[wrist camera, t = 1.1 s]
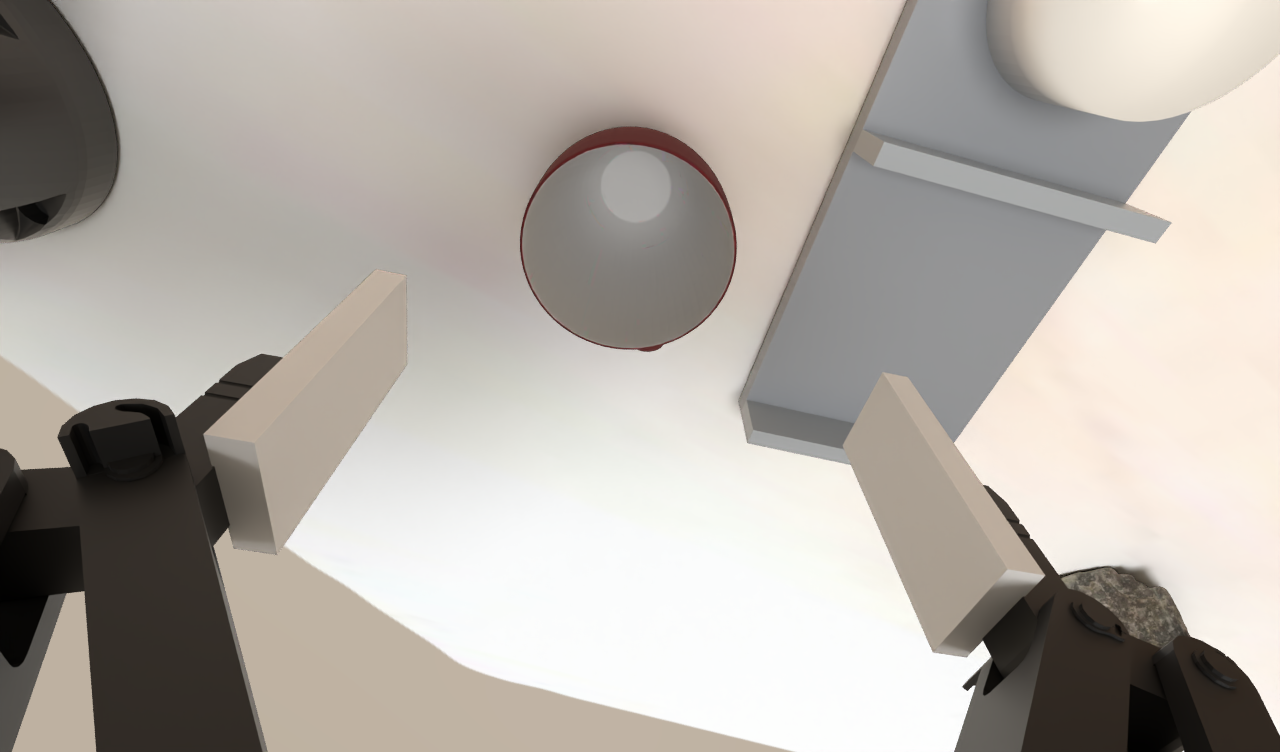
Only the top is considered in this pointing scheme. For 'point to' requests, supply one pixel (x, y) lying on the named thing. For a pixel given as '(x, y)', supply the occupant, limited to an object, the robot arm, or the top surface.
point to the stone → (1132, 604)
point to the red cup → (629, 239)
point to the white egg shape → (1131, 52)
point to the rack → (941, 236)
